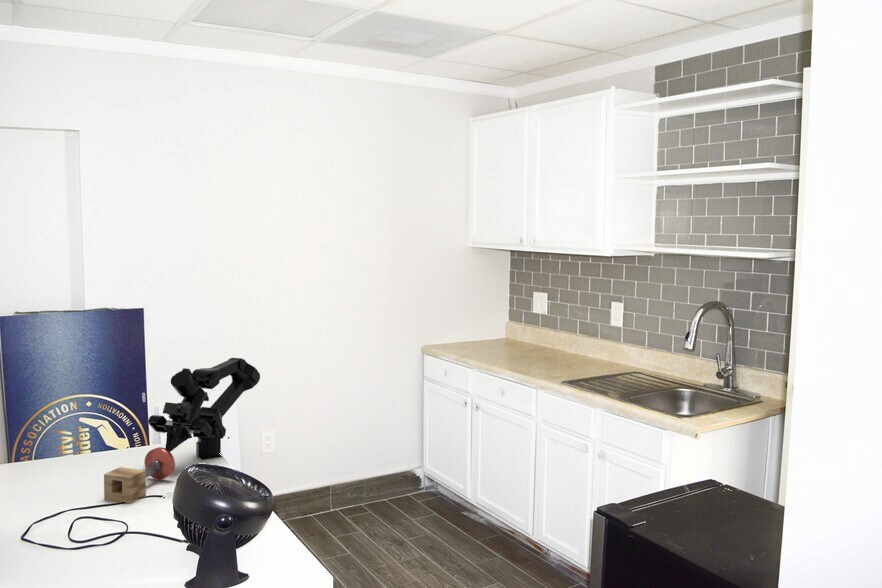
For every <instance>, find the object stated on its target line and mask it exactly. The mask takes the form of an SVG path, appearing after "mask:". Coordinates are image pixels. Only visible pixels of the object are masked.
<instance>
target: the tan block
mask: <svg viewBox="0 0 882 588" xmlns="http://www.w3.org/2000/svg"><path fill="white" fill-rule="evenodd" d="M146 482H147V478H146V470H143V469H137V468H131V467H130V468H129V467H123V466H119V467H117V468H114V469H112V470H110V471H108V472H105V473H103V487H104V488H103V490H104V491H103V498H104V501H108V502H110V501H111V502H117V503H122V502H125V503H124V504H128V503H129V505H130V504H132V502H133V503H135V502H136V501H135V500H137V499H138V500H140V499H142V498H144V497H146V496H147V495H146V494H147V488H146V485H147V483H146ZM143 496H144V497H143ZM141 497H142V498H141ZM139 498H140V499H139ZM138 500H137V501H138ZM134 501H135V502H134Z"/></svg>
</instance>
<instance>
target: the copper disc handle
mask: <svg viewBox="0 0 882 588" xmlns="http://www.w3.org/2000/svg"><path fill="white" fill-rule="evenodd" d="M165 448H166V447H161V446H159V447H155V448H153V449H151V450H149V451H148V452H147V453H146V455H145V457H144V467H145V468H143V469H142V470H146V479H147V478H149V477H151V478H153V479H155V480H160V481H161V480H164V479H166V478H169V477H170V476H171V475H172V474H173V473H174V471H175V467H176V463H175V462H176V461H175V458H174V455H173V454H172V452H170V451H168V450H167V449H165Z"/></svg>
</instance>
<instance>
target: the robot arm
mask: <svg viewBox="0 0 882 588" xmlns="http://www.w3.org/2000/svg"><path fill="white" fill-rule="evenodd" d="M229 376H230V377H231V383H230V384H229V385H228V386H227V387H226V389H224V391H223V392H222V393H221V394H220V395H219V397H218V398H217V399H216V400H215V401H214V403H212V405H211V406H210V407H207V406H202V405H203V404H204V402H209V401H210V396H209V394H208V392H207V391H205V390H204V389H206V390H213V389H214V388H216V387H217V386H218V385H219V384H220V381H222V379H225V378H227V377H229ZM260 380H261V374H260V372H259V371H258V369H257V368H256V367H255V366H253V365H251V364H250V363H248V362H247V361H246V360H245V359H244V358H243V357H242V358H241V357H231V358H228V360H226V361H223V362H222V363H221V362H220V363H219V364H217V365H214V366H212V367H206V368H196V369H194V370H193V371H192V370H191V369H190V368H185V367H184V368H182V370H181V371H178V372H176V373H175V374H174V375H172V376H171V379H170V385H171V386H172V387H173V388H174V390H175V391H176V392H177V393H178V395H179V396H180V397H182V398H183V399H182V400H181V402H177V403H176V402H168V401H167V402H164V405H163V409H162V414H164V415H165V414H166V415H168V418H169V419H167V418H166V417H165V416H164V415H158V414H152V415H150V416H149V418H148V419H147V424H148V425H149V426H150V427H151V428H152V429H153V430H154V432H156V433H162V434H166V439H165V440H166V441H165V442H166V443H165V447H164V448H165V449H167V450H168V451H170V453H172V452H173V450H175V449H176V448H177V447H179V446H180V445H181V444H183V443H184V442H186V441H188V440H189V439H192V438H197V441H196V442H195V443H196V444H195V445H196V446H195V448H196V449H195V452H196V453H195V454H196V456H197V457H198V458H199V459H200V460H208V459H215V458H222V457H221V455H222V456H223V454H222V453H221V452H222V451H221V449H222V448H221V447H222V443H221V442H222V440H221V439H224V437H226V432H227V429H226V427H225V426H224V425H223V417H224V416H225V415H226V413H228V411H229V410H230V409H231V407H233V405H234V404H235V403H236V402H237V400H238V399H239V398H240V397H241V396H242V395H243V393H244V392H246V391H248V390H252V389H253V388H254V387H256V386H257V384H258V383H259V382H260ZM219 453H220V454H221V455H220V454H219Z"/></svg>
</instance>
